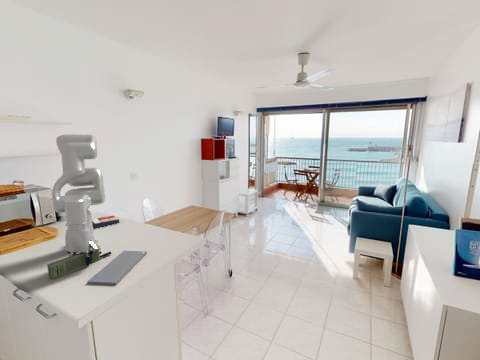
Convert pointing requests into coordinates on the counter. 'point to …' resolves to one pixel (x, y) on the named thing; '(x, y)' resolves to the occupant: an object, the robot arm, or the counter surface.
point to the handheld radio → (72, 263)
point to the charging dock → (117, 268)
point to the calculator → (104, 221)
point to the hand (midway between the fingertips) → (82, 263)
